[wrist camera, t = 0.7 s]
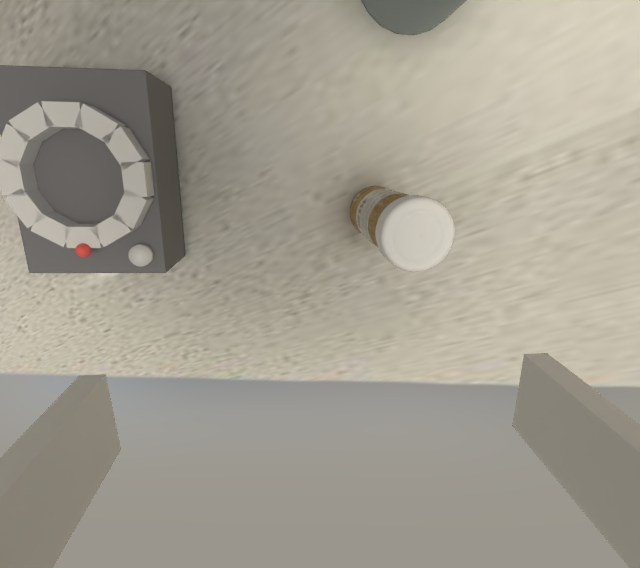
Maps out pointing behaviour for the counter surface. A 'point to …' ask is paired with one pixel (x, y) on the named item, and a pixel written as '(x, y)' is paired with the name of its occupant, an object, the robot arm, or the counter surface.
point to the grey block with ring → (91, 169)
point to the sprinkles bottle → (404, 227)
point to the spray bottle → (411, 14)
